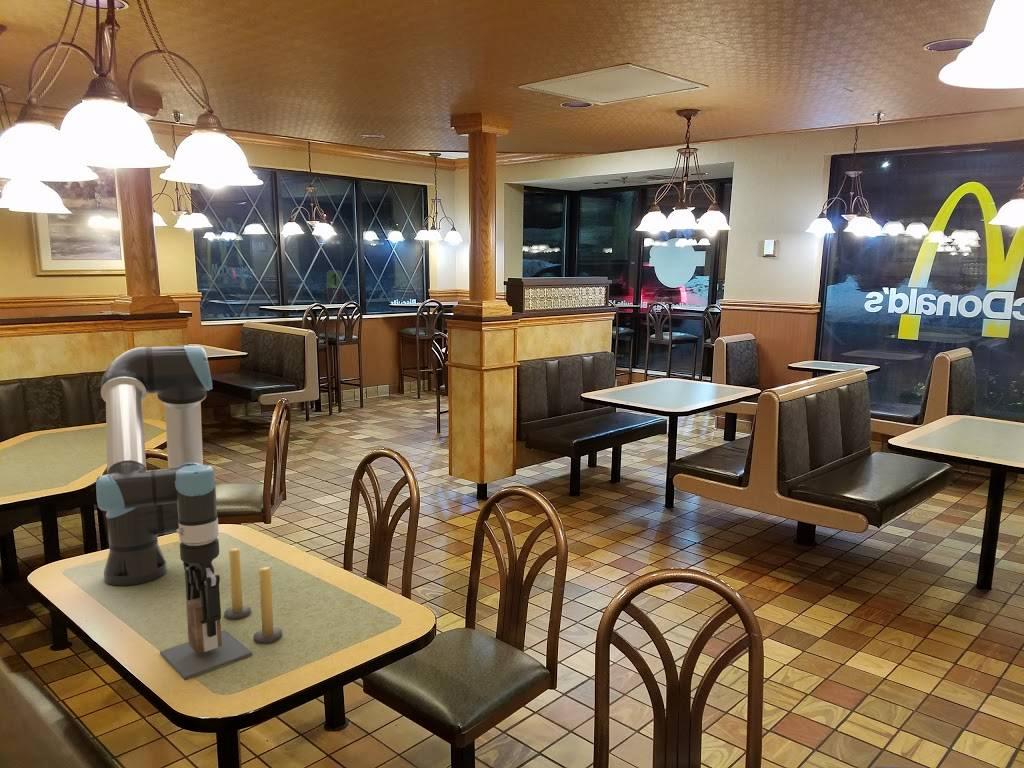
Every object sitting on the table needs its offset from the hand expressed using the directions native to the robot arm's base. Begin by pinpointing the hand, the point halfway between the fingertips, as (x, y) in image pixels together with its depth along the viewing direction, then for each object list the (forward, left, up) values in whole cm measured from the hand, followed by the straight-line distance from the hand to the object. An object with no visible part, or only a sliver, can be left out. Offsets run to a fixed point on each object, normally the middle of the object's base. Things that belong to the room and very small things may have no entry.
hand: (205, 644), depth 152 cm
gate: (-6, +13, -2) cm, 15 cm away
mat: (0, 0, -2) cm, 2 cm away
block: (0, 0, 0) cm, 0 cm away
